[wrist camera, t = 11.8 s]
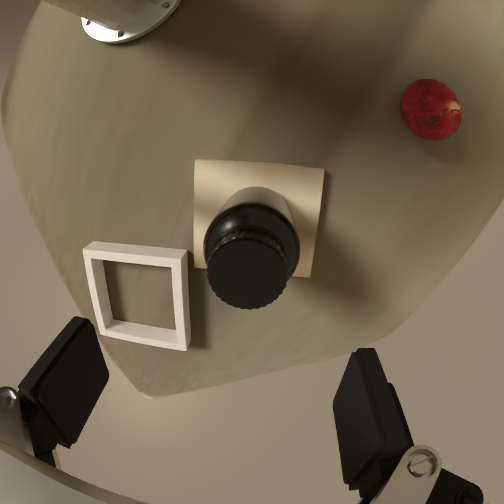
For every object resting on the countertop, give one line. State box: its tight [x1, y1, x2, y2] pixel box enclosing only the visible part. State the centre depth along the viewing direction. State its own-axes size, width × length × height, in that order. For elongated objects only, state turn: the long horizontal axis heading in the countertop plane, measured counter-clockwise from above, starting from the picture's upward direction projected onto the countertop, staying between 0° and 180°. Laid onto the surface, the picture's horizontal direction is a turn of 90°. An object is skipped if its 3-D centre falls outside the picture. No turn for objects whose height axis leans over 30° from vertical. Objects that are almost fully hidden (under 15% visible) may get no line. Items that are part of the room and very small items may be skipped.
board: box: [194, 159, 325, 278], centre depth 28 cm, size 11×12×1 cm
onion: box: [400, 79, 462, 141], centre depth 20 cm, size 6×6×8 cm
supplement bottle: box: [203, 186, 300, 310], centre depth 22 cm, size 7×7×12 cm
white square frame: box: [83, 241, 191, 351], centre depth 32 cm, size 12×12×2 cm
